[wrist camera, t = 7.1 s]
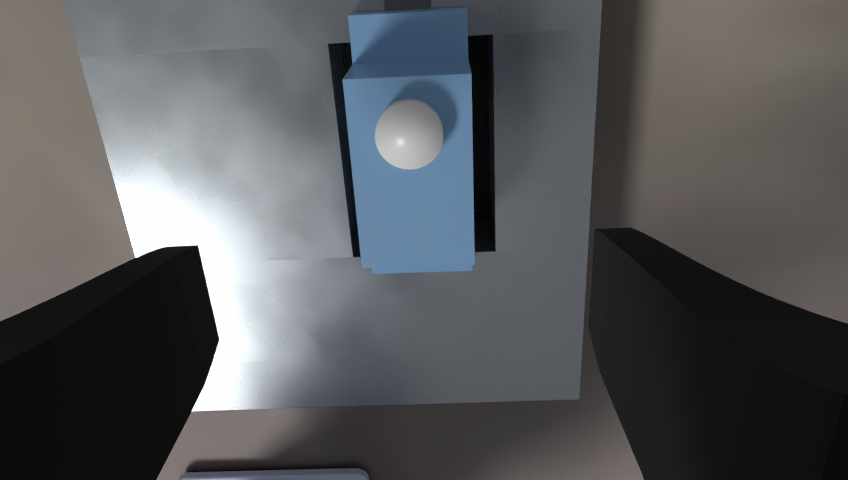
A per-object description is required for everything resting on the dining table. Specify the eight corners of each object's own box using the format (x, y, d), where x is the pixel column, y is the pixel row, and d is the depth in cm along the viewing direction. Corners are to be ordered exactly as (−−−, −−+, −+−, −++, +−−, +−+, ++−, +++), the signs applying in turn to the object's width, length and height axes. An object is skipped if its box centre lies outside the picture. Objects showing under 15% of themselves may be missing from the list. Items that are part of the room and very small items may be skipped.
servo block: (468, 227, 22) (476, 313, 17) (380, 230, 22) (364, 317, 17) (463, -2, 19) (471, 21, 14) (361, 2, 19) (333, 28, 14)
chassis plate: (566, 357, 24) (579, 401, 22) (201, 370, 25) (177, 413, 23) (589, -131, 17) (611, -140, 15) (84, -97, 18) (33, -100, 16)
